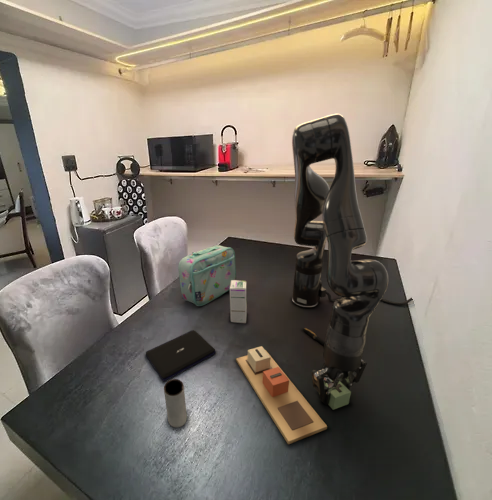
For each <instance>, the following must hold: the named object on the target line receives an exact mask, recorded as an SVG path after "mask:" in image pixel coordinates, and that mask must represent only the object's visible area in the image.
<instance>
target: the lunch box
mask: <svg viewBox="0 0 492 500" xmlns="http://www.w3.org/2000/svg"><path fill="white" fill-rule="evenodd" d="M177 267H178V268H177V269H178V278H179V285H180V293H181V297H182V299H183V300H185V301H187V302H190V303H193V304H194V305H195V306H197V307H202V306H205V305H206V304H209V303H210V302H212V301H214V300H216V299H218V298H219V297H221V296H222V295H224V294H225V293H227V292H230V283H231V280H237V268H236V253H235V250H234V249H233V248H232V247H229V246H228V247H227V246H223V245H220V244H218V245H217V244H216V245H213V246H209V247H206V248H204V249H201V250H197V251H195V252H192V253H190V254H188V255H186V256H184V257H182V258H181V259H180V260H179V263H178V266H177Z"/></svg>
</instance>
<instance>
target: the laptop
mask: <svg viewBox="0 0 492 500" xmlns="http://www.w3.org/2000/svg"><path fill="white" fill-rule="evenodd" d="M216 353H217V352H216V349H215V348H214V347H213V346H212V345H211V344H210V343H209V342H208V341H207V340H206V339H205V338H204V337H202V335H200V334H199V333H198V332H197V331H196V330H194V329H193V330H189V331H187V332H185V333H183V334H181V335H179V336H177V337H174V338H172V339H170V340H168V341H166V342H163V343H161V344H159V345H157V346H155V347H153V348H151V349H149V350H146V352H145V356H146V358H147V359H148V361H149V363H150V364H151V365H152V367H153V369H154V370H155V371H156V372H157V374H158V375H159V377H160V378H161V380H162V381H163V382H165V381H166V382H167V381H168V380H170V379H171V378H174V377H176V376H177V375H179V374H181V373H182V372H184V371H186V370H188V369H190V368H191V367H194V366H195V365H197V364H199V363H200V362H201V363H202V362H203V361H204V360H206V359H208V358H210V357H212V356H213V355H215V354H216Z"/></svg>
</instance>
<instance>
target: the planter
mask: <svg viewBox="0 0 492 500" xmlns="http://www.w3.org/2000/svg"><path fill="white" fill-rule="evenodd" d="M163 393H164V400H165V409H166V414H167V415H166V416H167V421H168V424H169V425H170V426H171V427H172V428H176V429H177V428H181V427H183V426H184V425H185V424H186V422H187V420H188V415H187V404H186V394H185V385H184V382H183V381H182V380H180V379H179V378H172V379H168V380H167V381H166V383H165V384H164V386H163Z"/></svg>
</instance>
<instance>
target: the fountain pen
mask: <svg viewBox="0 0 492 500" xmlns="http://www.w3.org/2000/svg"><path fill="white" fill-rule="evenodd" d="M302 330H303V332H304V333H306V334H307V335H308V336H309V337H311V338H312V339H314V340H315V341H317V342H318V343H320V344H321V345H323V346H324V344H325V340H323V339H321V338H320V337H318V335H316V333H314V332H313V331H312V330H310V329H308V328H307V327H304V328H302Z"/></svg>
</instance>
